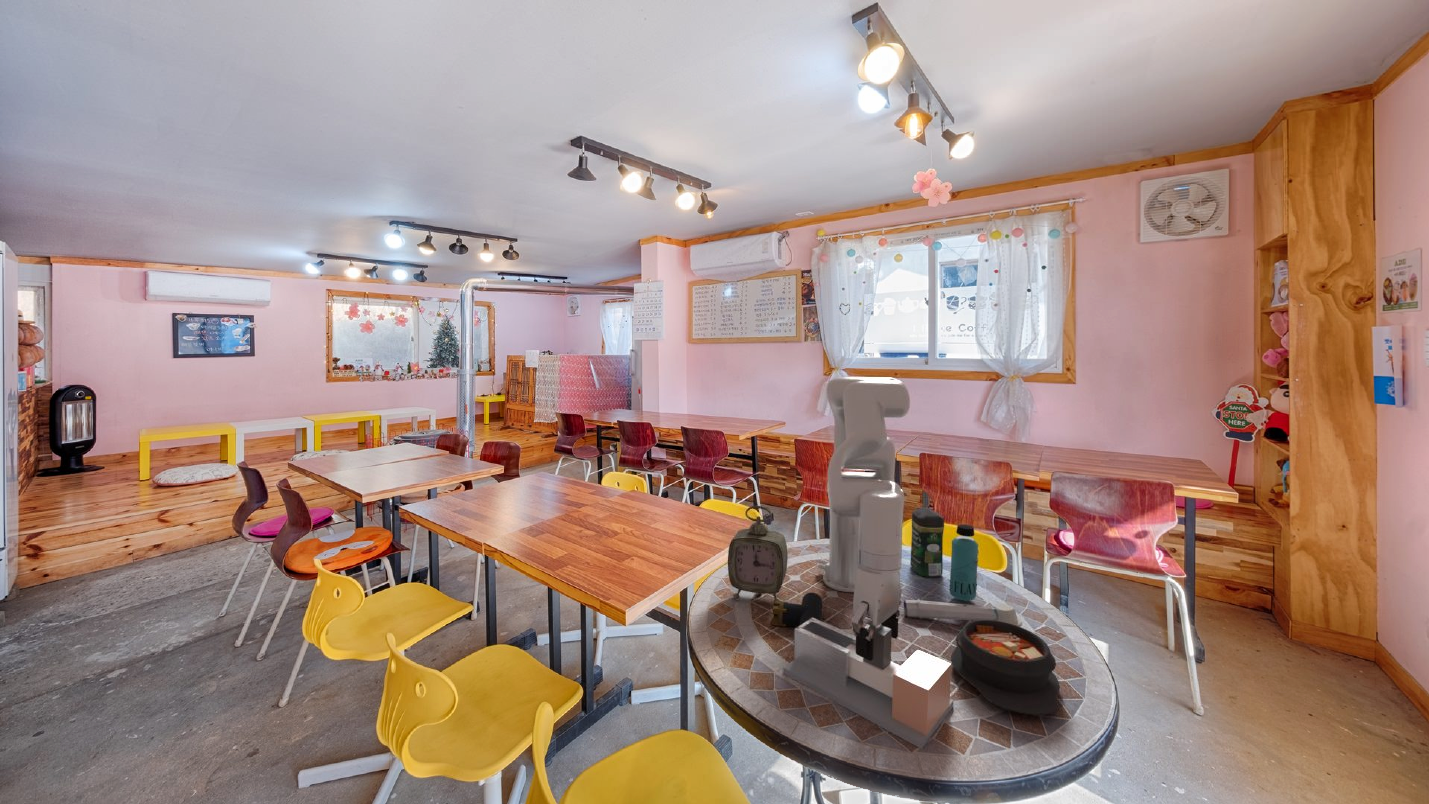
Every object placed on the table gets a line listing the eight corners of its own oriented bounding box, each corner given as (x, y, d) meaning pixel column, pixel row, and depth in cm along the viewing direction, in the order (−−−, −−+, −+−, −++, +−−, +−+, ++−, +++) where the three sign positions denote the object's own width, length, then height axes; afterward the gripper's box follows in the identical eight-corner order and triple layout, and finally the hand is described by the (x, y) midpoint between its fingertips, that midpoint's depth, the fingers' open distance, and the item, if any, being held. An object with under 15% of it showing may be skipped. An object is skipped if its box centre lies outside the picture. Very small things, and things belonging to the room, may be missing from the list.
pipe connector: (770, 617, 113) (776, 587, 128) (769, 639, 114) (776, 607, 128) (822, 624, 111) (822, 593, 125) (821, 647, 111) (822, 613, 126)
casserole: (938, 639, 114) (939, 603, 113) (1029, 648, 110) (1031, 612, 109) (969, 716, 89) (971, 671, 88) (1088, 732, 85) (1091, 686, 85)
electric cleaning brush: (903, 595, 126) (1017, 598, 117) (906, 620, 127) (1020, 626, 118) (903, 604, 122) (1021, 609, 113) (906, 631, 122) (1025, 638, 113)
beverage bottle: (949, 604, 129) (952, 528, 127) (947, 592, 135) (950, 520, 134) (977, 608, 127) (981, 531, 125) (975, 597, 133) (978, 523, 131)
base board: (783, 673, 101) (783, 667, 101) (821, 644, 111) (821, 639, 111) (921, 749, 82) (921, 742, 82) (953, 706, 92) (953, 700, 92)
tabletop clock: (727, 602, 131) (727, 508, 129) (736, 586, 140) (736, 498, 137) (783, 609, 127) (783, 513, 124) (788, 593, 135) (789, 502, 133)
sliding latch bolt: (839, 672, 98) (841, 619, 97) (850, 662, 101) (851, 611, 100) (922, 712, 86) (924, 654, 85) (931, 701, 89) (933, 644, 88)
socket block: (891, 717, 87) (893, 673, 87) (916, 690, 94) (917, 649, 94) (926, 735, 83) (928, 690, 82) (949, 705, 90) (951, 663, 89)
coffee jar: (906, 564, 154) (908, 505, 152) (932, 564, 153) (934, 505, 152) (918, 578, 144) (920, 515, 142) (946, 578, 144) (948, 515, 142)
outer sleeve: (794, 659, 104) (794, 629, 103) (811, 646, 109) (812, 617, 108) (845, 686, 96) (846, 653, 95) (862, 671, 100) (863, 639, 100)
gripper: (882, 539, 101) (880, 621, 103) (836, 565, 89) (834, 657, 91) (919, 550, 96) (916, 635, 97) (876, 578, 84) (873, 676, 85)
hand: (877, 645), depth 94 cm, fingers open, 9 cm apart
